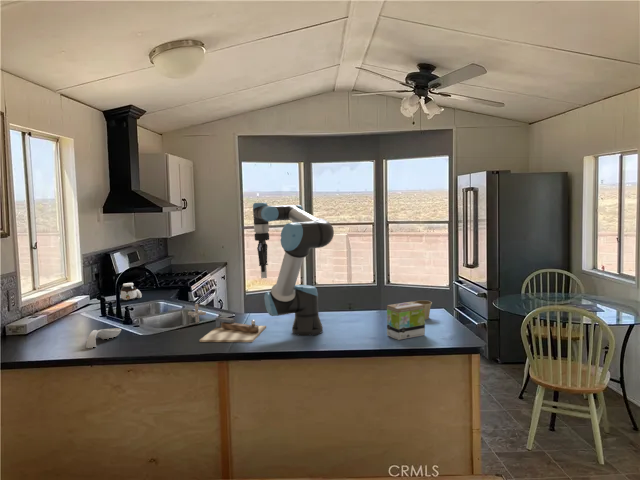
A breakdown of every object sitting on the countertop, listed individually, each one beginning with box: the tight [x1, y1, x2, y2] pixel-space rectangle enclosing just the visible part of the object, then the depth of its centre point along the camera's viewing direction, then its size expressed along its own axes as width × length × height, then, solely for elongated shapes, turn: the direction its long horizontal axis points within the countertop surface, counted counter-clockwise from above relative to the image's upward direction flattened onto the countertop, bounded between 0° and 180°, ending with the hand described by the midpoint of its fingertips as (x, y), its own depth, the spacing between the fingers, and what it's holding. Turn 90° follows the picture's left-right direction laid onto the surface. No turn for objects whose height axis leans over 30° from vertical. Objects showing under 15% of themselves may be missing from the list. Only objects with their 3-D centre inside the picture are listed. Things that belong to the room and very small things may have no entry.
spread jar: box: [120, 282, 143, 302], centre depth 336 cm, size 12×11×12 cm
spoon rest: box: [85, 327, 122, 349], centre depth 233 cm, size 24×12×7 cm, turn 179°
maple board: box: [199, 325, 267, 343], centre depth 235 cm, size 26×25×1 cm
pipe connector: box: [187, 304, 207, 324], centre depth 262 cm, size 10×10×10 cm
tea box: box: [386, 301, 426, 341], centre depth 221 cm, size 15×10×15 cm
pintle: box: [250, 319, 256, 326], centre depth 233 cm, size 2×2×3 cm
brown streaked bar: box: [221, 322, 259, 333], centre depth 238 cm, size 22×5×3 cm, turn 58°
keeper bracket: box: [215, 316, 236, 328], centre depth 245 cm, size 11×3×5 cm, turn 56°
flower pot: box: [414, 300, 433, 320], centre depth 252 cm, size 9×9×9 cm
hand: (264, 277), depth 246 cm, fingers closed
